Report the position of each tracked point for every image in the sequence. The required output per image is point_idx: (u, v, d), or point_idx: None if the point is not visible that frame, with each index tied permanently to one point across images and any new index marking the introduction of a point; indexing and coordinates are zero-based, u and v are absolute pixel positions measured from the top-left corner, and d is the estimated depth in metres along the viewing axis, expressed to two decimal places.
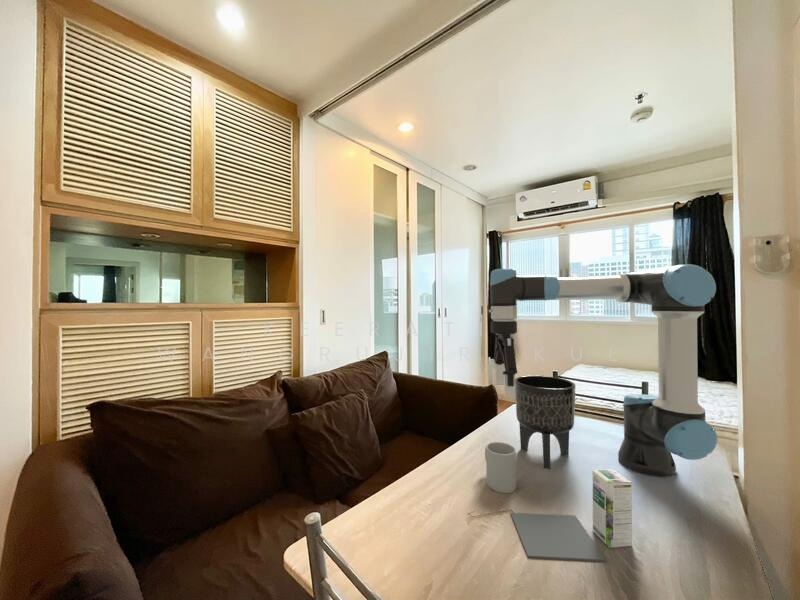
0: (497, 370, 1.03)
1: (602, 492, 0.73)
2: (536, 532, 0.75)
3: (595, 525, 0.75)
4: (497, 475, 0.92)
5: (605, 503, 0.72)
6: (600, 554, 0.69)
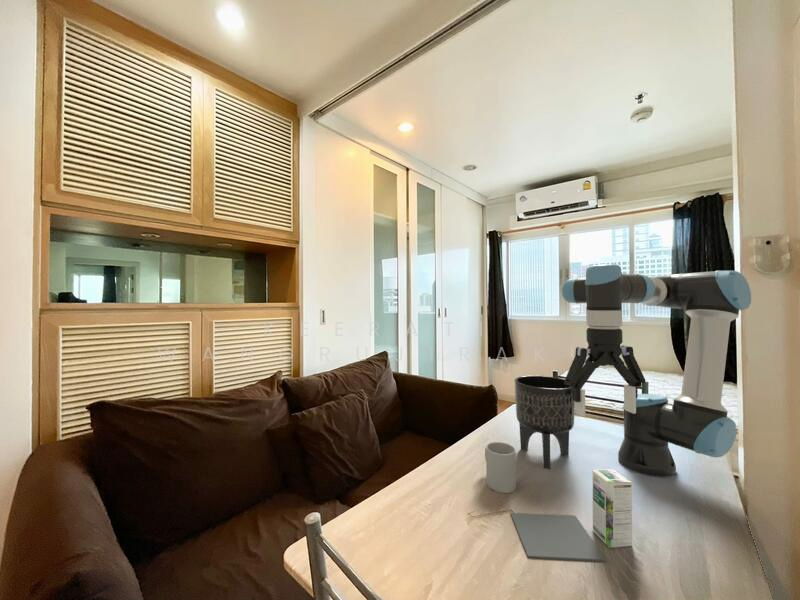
0: (625, 392, 0.81)
1: (602, 492, 0.73)
2: (536, 532, 0.75)
3: (595, 525, 0.75)
4: (497, 475, 0.92)
5: (605, 503, 0.72)
6: (600, 554, 0.69)
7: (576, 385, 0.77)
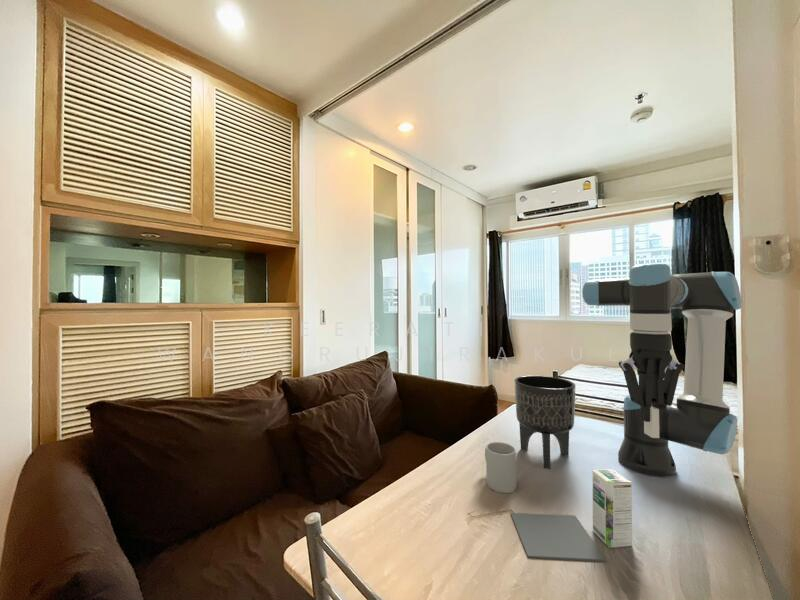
0: None
1: (602, 492, 0.73)
2: (536, 532, 0.75)
3: (595, 525, 0.75)
4: (497, 475, 0.92)
5: (605, 503, 0.72)
6: (600, 554, 0.69)
7: (644, 405, 0.73)
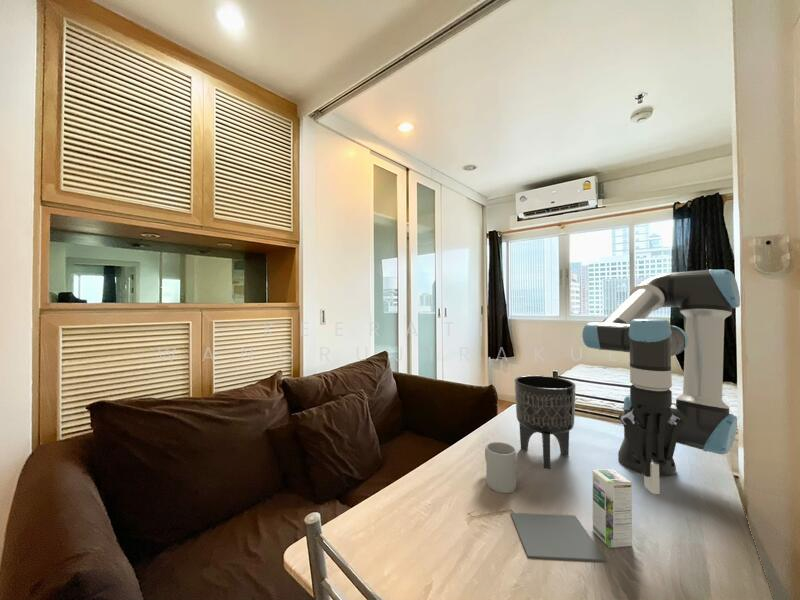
0: None
1: (602, 492, 0.73)
2: (536, 532, 0.75)
3: (595, 525, 0.75)
4: (497, 475, 0.92)
5: (605, 503, 0.72)
6: (600, 554, 0.69)
7: (645, 460, 0.72)
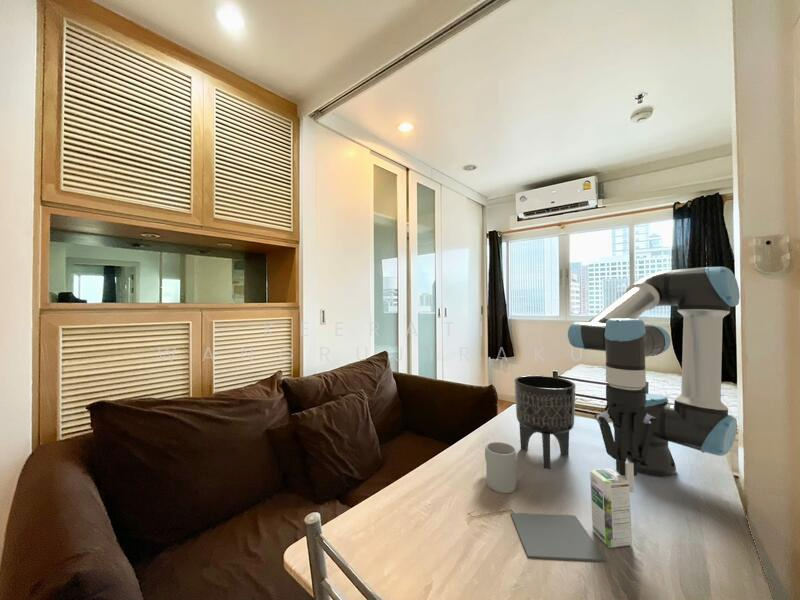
0: None
1: (600, 492, 0.73)
2: (536, 532, 0.75)
3: (595, 525, 0.75)
4: (497, 475, 0.92)
5: (603, 503, 0.72)
6: (600, 554, 0.69)
7: (620, 459, 0.73)
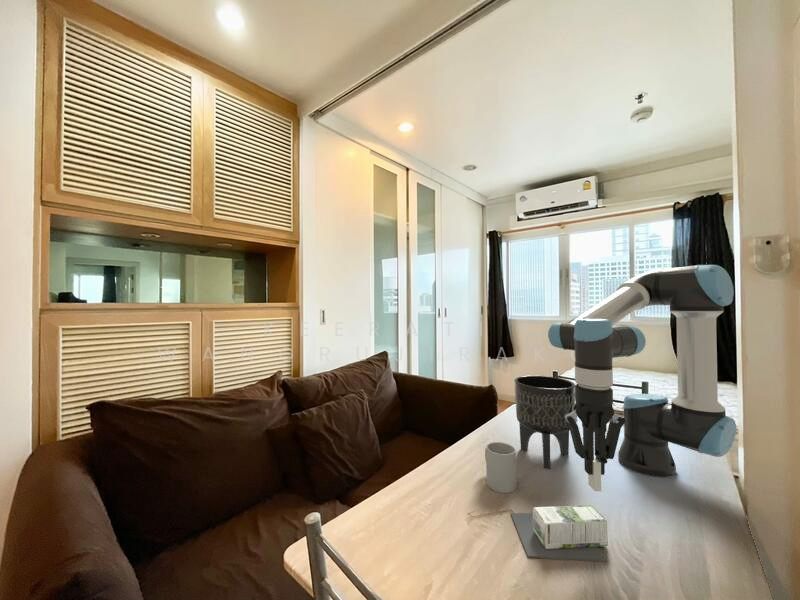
0: None
1: None
2: None
3: None
4: (497, 475, 0.92)
5: None
6: (600, 554, 0.69)
7: (587, 458, 0.73)
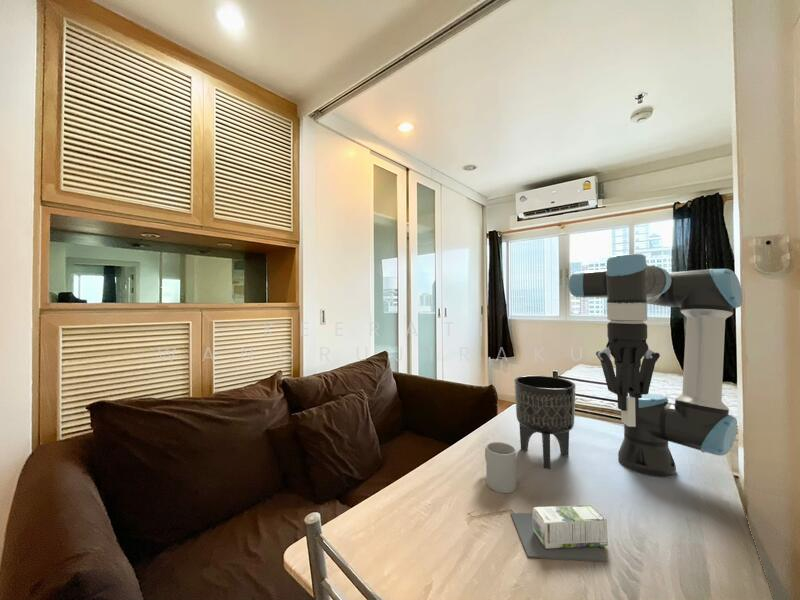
0: None
1: None
2: None
3: None
4: (497, 475, 0.92)
5: None
6: (600, 554, 0.69)
7: (621, 394, 0.73)
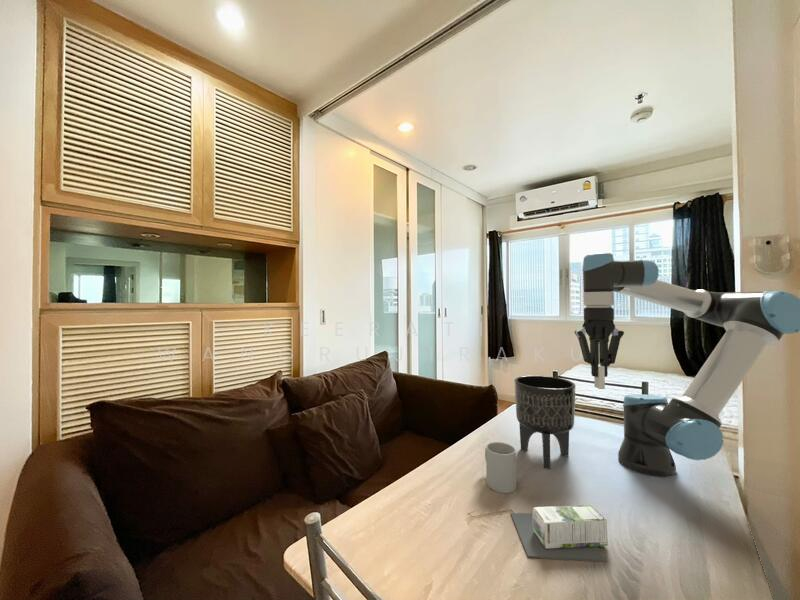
0: None
1: None
2: None
3: None
4: (497, 475, 0.92)
5: None
6: (600, 554, 0.69)
7: (593, 364, 0.93)
